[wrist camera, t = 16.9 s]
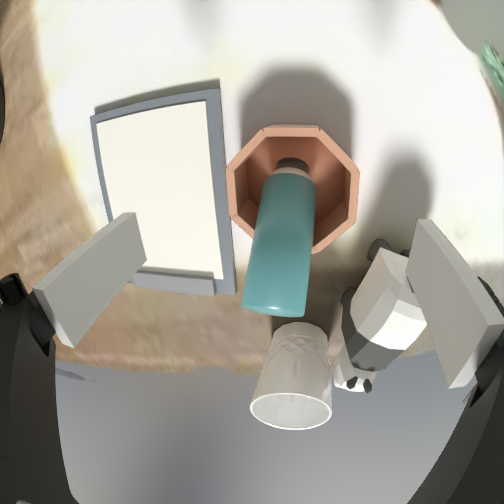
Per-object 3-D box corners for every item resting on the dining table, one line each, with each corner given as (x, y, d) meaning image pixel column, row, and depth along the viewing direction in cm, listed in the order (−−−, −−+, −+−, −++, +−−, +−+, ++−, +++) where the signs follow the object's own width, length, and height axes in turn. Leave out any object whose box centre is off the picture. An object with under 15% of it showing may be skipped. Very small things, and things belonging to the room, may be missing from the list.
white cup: (297, 305, 29) (286, 382, 21) (346, 340, 30) (348, 413, 22) (254, 340, 33) (234, 409, 24) (301, 369, 34) (292, 435, 26)
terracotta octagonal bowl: (238, 125, 21) (222, 129, 18) (351, 126, 20) (361, 130, 16) (245, 226, 26) (232, 249, 22) (346, 231, 24) (351, 255, 20)
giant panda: (377, 224, 23) (404, 287, 15) (424, 244, 23) (462, 308, 15) (317, 334, 31) (312, 405, 22) (358, 346, 30) (362, 414, 22)
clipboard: (94, 115, 23) (84, 117, 22) (220, 88, 20) (213, 87, 19) (129, 279, 32) (123, 286, 31) (237, 290, 30) (233, 299, 28)
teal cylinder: (259, 153, 20) (230, 301, 16) (312, 149, 18) (297, 308, 15) (275, 183, 23) (253, 313, 20) (321, 181, 22) (308, 319, 18)
